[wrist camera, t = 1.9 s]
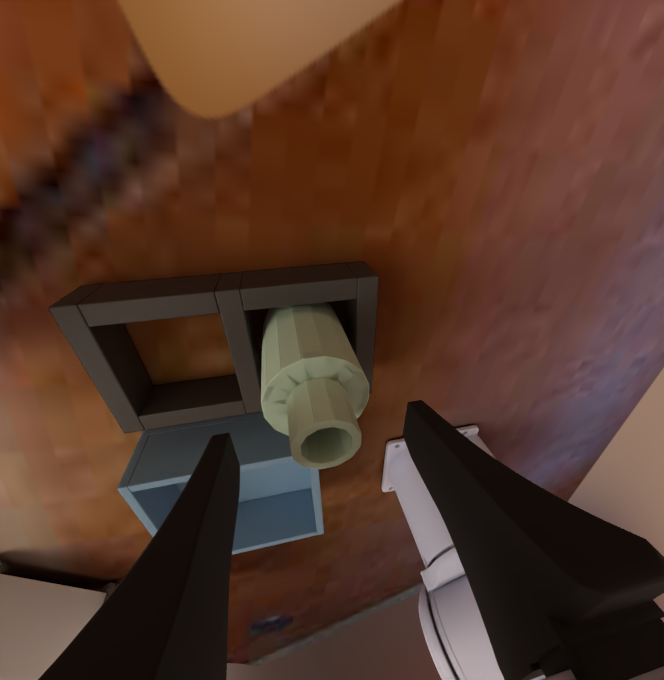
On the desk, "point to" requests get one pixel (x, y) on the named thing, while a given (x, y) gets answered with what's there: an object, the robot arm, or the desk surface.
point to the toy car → (41, 623)
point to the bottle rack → (201, 299)
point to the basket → (255, 479)
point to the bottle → (312, 384)
